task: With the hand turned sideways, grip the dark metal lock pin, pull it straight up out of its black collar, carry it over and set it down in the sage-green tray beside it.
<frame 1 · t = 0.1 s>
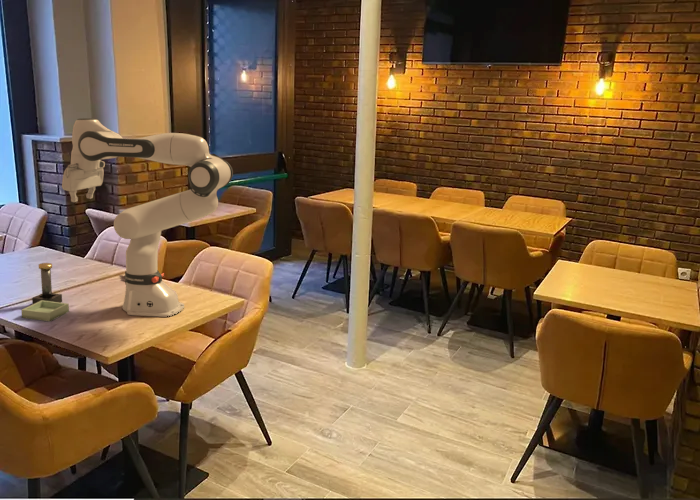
hand: (82, 200, 211), 39 cm above the table, tool pointing down, fingers open, 8 cm apart
tray: (45, 314, 203), on the table
pin collar: (47, 303, 214), on the table
lock pin: (46, 284, 212), in the pin collar
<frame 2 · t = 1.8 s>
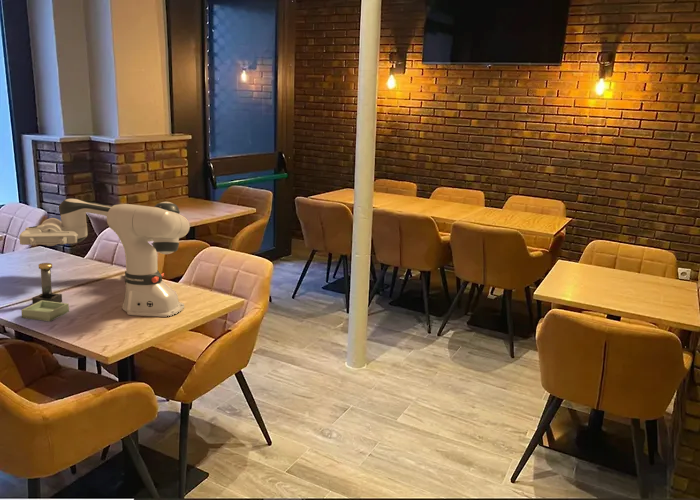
hand: (47, 242, 220), 20 cm above the table, tool horizontal, fingers open, 8 cm apart
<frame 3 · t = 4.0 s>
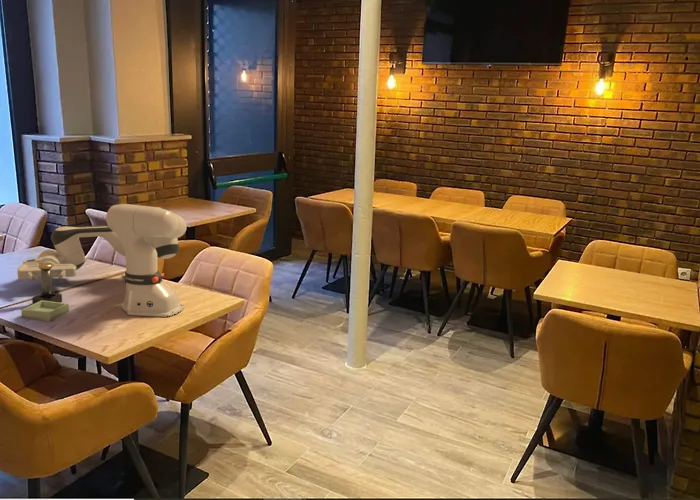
hand: (46, 277, 218), 8 cm above the table, tool horizontal, fingers open, 8 cm apart
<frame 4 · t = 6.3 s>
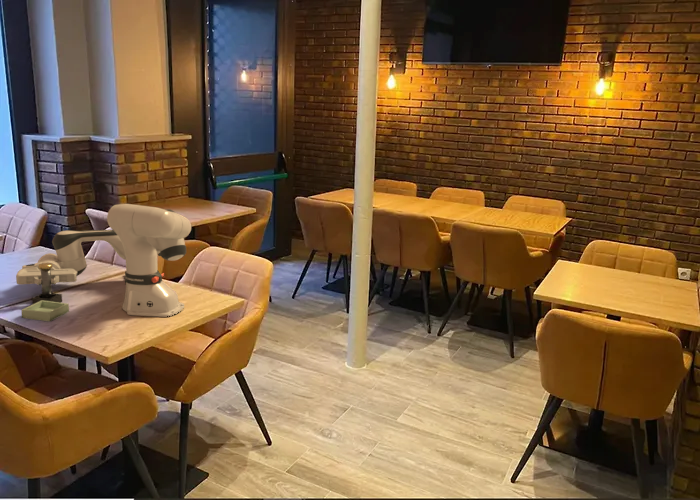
hand: (46, 282, 211), 9 cm above the table, tool horizontal, fingers closed on lock pin, 3 cm apart
lock pin: (46, 284, 212), in the pin collar, touching gripper
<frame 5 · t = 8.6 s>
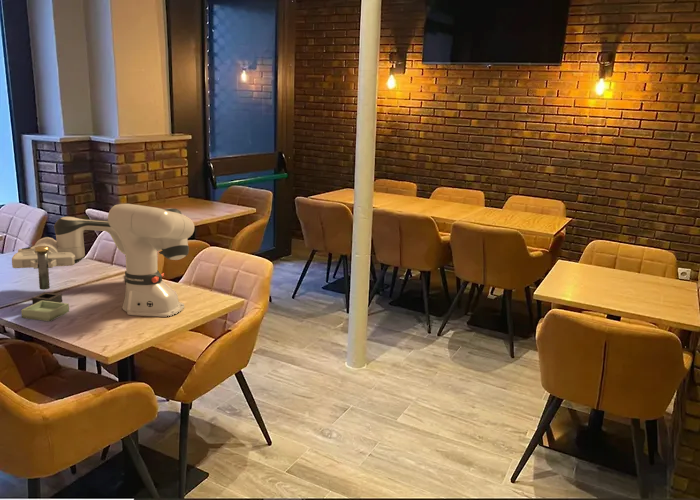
hand: (43, 266, 204), 17 cm above the table, tool horizontal, fingers closed on lock pin, 3 cm apart
lock pin: (43, 268, 205), point 16 cm above the table, touching gripper
when the fingers open (11 cm above the table, at t = 10.9 s): lock pin drops 1 cm, resting on tray.
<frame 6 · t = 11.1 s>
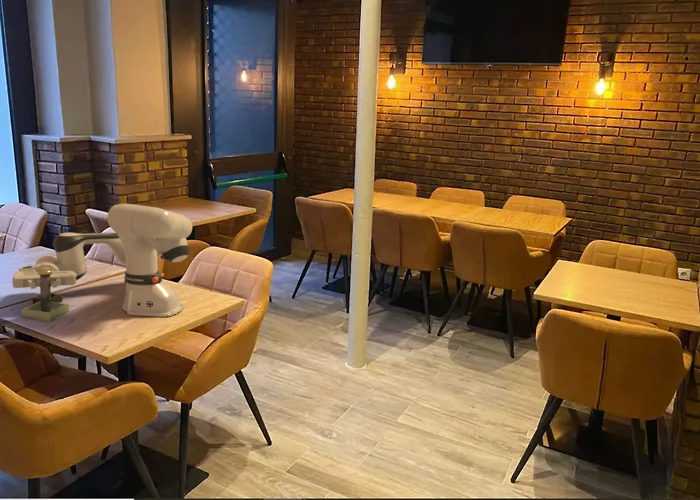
hand: (44, 285, 200), 11 cm above the table, tool horizontal, fingers open, 5 cm apart
lock pin: (45, 291, 202), in the tray, point 9 cm above the table
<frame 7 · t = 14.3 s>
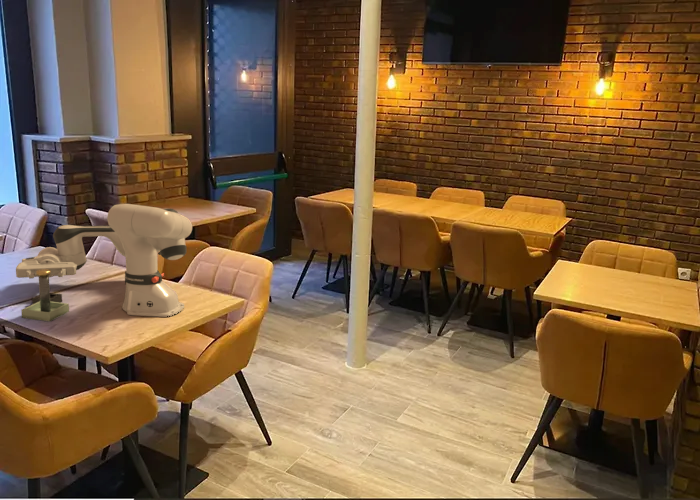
hand: (45, 275, 211), 11 cm above the table, tool horizontal, fingers open, 8 cm apart
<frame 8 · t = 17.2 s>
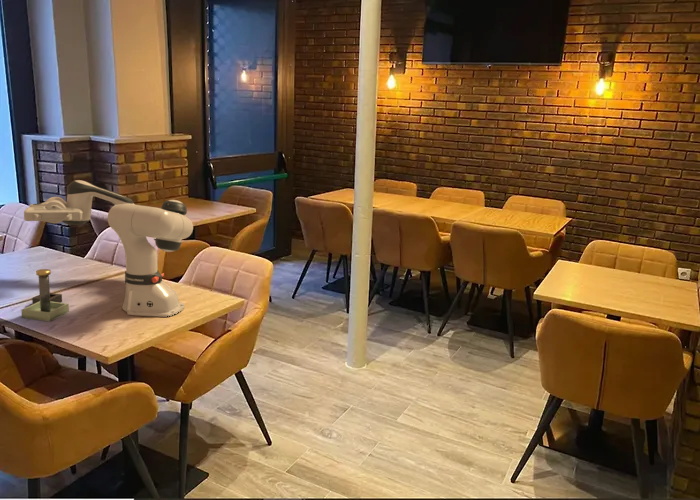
hand: (53, 218, 218), 30 cm above the table, tool horizontal, fingers open, 8 cm apart
at the end: lock pin inside the target area on the tray (0.0 cm from its centre), point 8.6 cm above the tray's base; lock pin touching tray; the gripper is holding nothing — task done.
